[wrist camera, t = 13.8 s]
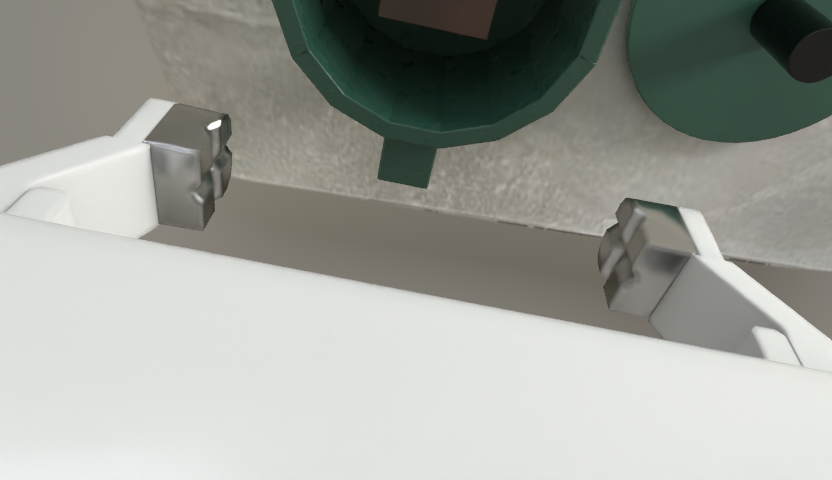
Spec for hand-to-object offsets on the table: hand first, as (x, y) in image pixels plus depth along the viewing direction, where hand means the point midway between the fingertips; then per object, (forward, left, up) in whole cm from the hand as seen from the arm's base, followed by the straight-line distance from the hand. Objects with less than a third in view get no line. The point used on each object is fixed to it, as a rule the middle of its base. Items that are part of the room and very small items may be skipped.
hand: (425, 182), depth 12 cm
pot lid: (-16, 0, -20) cm, 25 cm away
